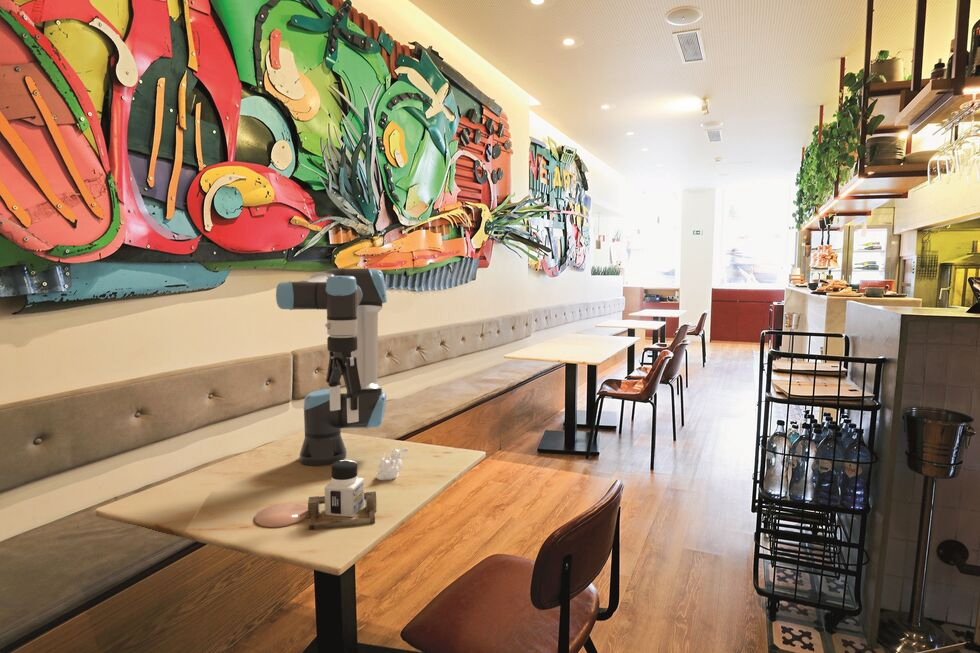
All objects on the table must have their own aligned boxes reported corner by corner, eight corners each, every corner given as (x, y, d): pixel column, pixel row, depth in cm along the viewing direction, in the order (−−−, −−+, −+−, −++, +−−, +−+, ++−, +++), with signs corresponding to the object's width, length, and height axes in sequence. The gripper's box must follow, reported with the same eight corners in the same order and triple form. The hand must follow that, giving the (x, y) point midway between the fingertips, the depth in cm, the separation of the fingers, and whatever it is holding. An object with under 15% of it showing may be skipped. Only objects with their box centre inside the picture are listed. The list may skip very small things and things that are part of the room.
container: (353, 517, 142) (352, 468, 140) (324, 515, 143) (323, 466, 141) (364, 505, 149) (364, 458, 148) (337, 503, 150) (336, 456, 149)
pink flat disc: (259, 507, 147) (259, 505, 147) (310, 503, 150) (310, 501, 150) (250, 529, 134) (250, 527, 134) (307, 524, 137) (307, 522, 137)
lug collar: (311, 501, 151) (310, 487, 151) (374, 496, 155) (374, 482, 155) (306, 530, 134) (305, 514, 134) (377, 523, 138) (377, 507, 138)
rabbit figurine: (399, 469, 177) (398, 439, 176) (416, 474, 173) (416, 443, 172) (370, 480, 168) (370, 449, 167) (388, 485, 163) (388, 453, 162)
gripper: (313, 331, 152) (315, 407, 154) (344, 342, 131) (346, 430, 133) (340, 329, 156) (341, 403, 158) (374, 340, 135) (375, 425, 138)
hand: (343, 415), depth 146 cm, fingers open, 13 cm apart
